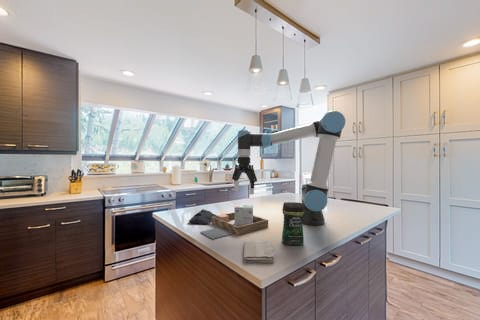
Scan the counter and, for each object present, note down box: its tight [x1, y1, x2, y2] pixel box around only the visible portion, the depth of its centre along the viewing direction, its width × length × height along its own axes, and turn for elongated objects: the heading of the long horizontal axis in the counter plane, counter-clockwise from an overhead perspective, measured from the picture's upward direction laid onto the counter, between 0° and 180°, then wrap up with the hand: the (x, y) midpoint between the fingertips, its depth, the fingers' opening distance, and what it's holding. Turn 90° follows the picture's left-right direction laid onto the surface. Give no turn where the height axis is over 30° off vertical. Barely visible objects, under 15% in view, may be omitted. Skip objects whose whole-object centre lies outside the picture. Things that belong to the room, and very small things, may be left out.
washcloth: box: [243, 240, 275, 264], centre depth 89 cm, size 12×18×3 cm, turn 0°
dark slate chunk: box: [188, 208, 217, 226], centre depth 138 cm, size 15×22×5 cm
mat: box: [200, 227, 234, 240], centre depth 112 cm, size 12×12×1 cm
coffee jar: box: [281, 201, 305, 246], centre depth 100 cm, size 10×8×19 cm
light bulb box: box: [234, 204, 254, 226], centre depth 128 cm, size 11×7×11 cm, turn 84°
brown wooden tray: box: [211, 211, 269, 236], centre depth 126 cm, size 26×22×4 cm
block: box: [216, 213, 230, 223], centre depth 129 cm, size 5×5×5 cm
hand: (243, 192), depth 128 cm, fingers open, 13 cm apart
